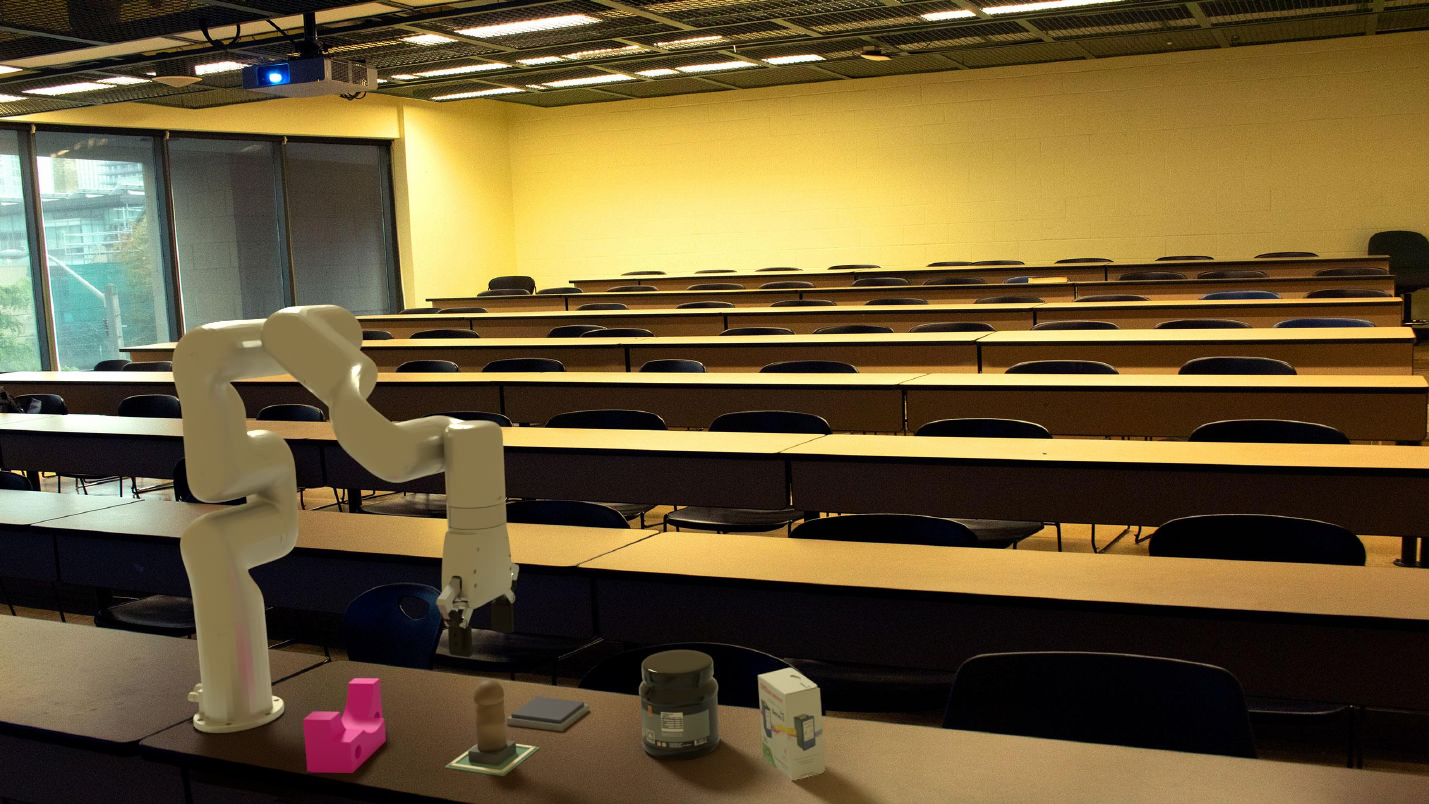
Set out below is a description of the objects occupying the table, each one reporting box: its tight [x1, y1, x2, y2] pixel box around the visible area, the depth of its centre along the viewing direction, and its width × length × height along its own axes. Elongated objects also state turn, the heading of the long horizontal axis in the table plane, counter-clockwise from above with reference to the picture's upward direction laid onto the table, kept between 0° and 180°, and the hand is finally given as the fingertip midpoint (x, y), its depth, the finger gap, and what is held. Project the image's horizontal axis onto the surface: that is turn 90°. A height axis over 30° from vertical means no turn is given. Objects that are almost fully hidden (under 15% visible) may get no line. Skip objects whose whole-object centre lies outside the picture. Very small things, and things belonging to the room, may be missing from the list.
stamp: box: [467, 679, 517, 766], centre depth 150 cm, size 4×4×10 cm
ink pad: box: [506, 695, 590, 732], centre depth 164 cm, size 9×8×2 cm
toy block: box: [302, 677, 387, 774], centre depth 155 cm, size 15×6×8 cm, turn 172°
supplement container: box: [638, 649, 720, 761], centre depth 151 cm, size 10×10×12 cm
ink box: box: [757, 667, 826, 780], centre depth 143 cm, size 9×5×12 cm, turn 23°
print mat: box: [444, 743, 541, 777], centre depth 150 cm, size 9×9×1 cm
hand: (482, 643), depth 149 cm, fingers open, 9 cm apart
